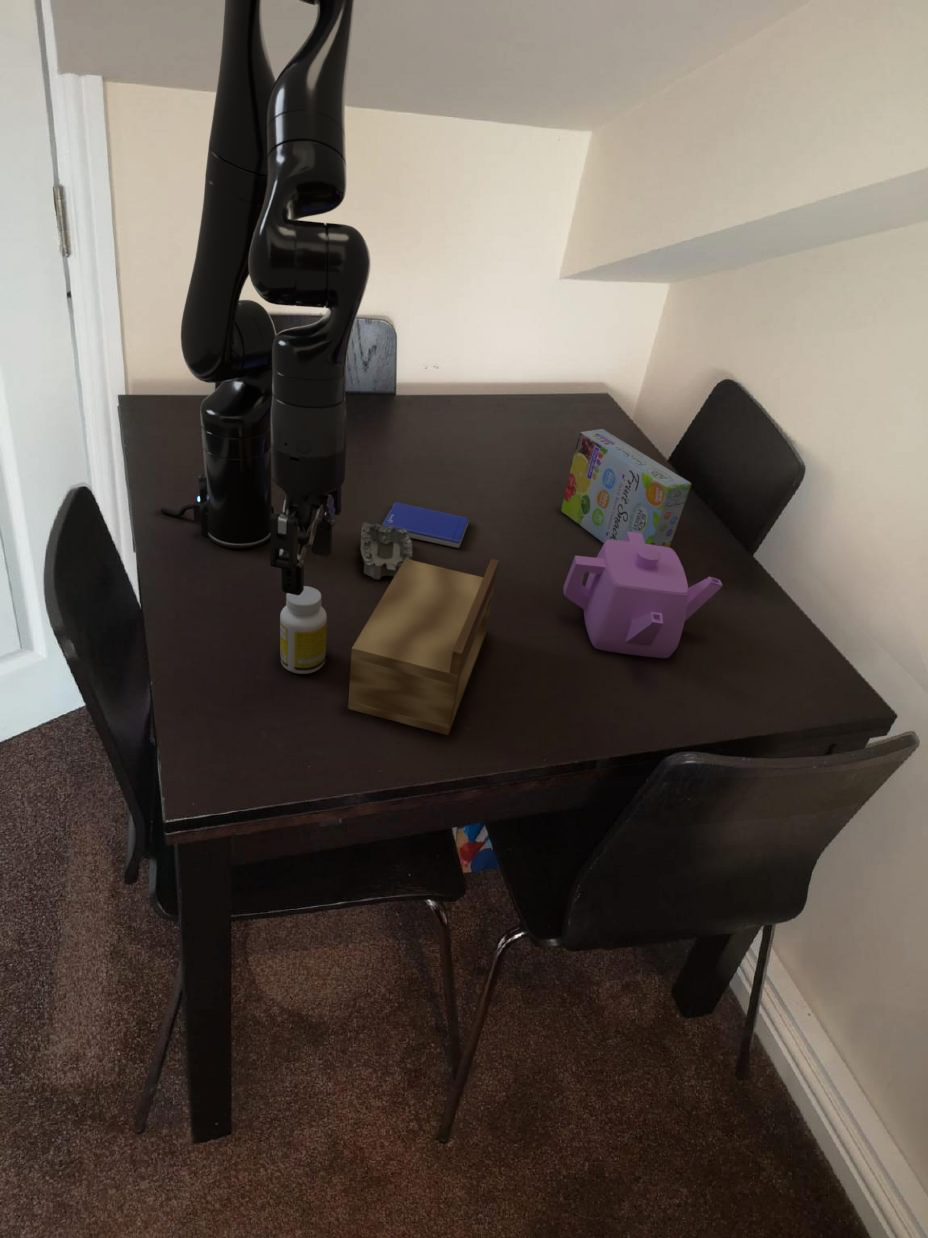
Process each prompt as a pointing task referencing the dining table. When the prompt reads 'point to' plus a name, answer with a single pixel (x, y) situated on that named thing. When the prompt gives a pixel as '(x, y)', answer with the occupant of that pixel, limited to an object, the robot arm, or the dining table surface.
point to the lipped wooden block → (421, 645)
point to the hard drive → (428, 524)
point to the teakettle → (635, 597)
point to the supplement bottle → (303, 632)
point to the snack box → (622, 491)
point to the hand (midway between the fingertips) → (307, 572)
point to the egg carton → (384, 549)
